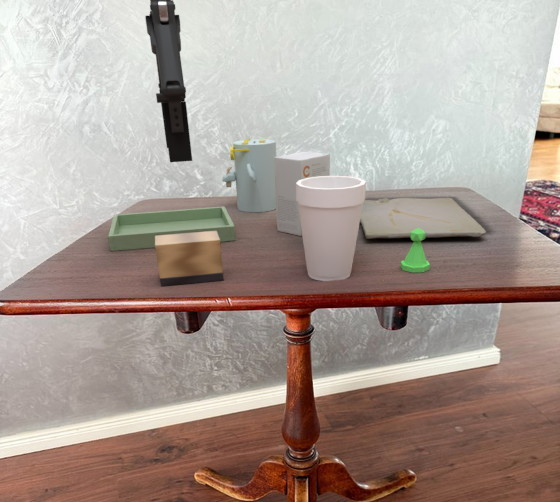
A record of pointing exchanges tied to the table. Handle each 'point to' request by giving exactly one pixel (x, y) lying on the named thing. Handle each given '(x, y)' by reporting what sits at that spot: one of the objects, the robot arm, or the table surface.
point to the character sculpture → (253, 174)
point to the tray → (167, 226)
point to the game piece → (416, 254)
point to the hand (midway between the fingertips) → (178, 153)
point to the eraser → (189, 258)
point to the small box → (286, 178)
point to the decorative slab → (417, 218)
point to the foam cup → (330, 223)
